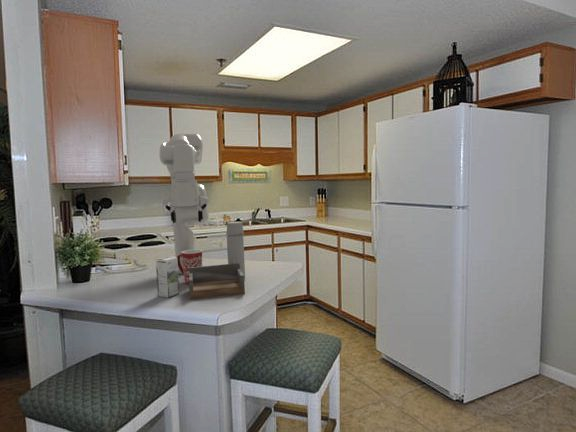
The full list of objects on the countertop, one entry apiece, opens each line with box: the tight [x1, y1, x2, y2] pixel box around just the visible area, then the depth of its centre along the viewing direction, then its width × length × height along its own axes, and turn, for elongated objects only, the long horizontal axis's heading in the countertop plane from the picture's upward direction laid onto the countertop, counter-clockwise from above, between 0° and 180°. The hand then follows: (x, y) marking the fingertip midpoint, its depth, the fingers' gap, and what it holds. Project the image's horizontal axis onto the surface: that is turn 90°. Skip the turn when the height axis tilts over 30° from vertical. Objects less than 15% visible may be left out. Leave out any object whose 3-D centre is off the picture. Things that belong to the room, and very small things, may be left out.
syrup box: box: [155, 255, 180, 298], centre depth 149 cm, size 6×6×14 cm
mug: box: [177, 249, 203, 285], centre depth 169 cm, size 13×9×14 cm
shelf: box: [188, 263, 246, 300], centre depth 152 cm, size 14×20×9 cm
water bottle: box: [225, 221, 246, 281], centre depth 169 cm, size 9×8×25 cm
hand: (187, 222), depth 151 cm, fingers open, 9 cm apart
